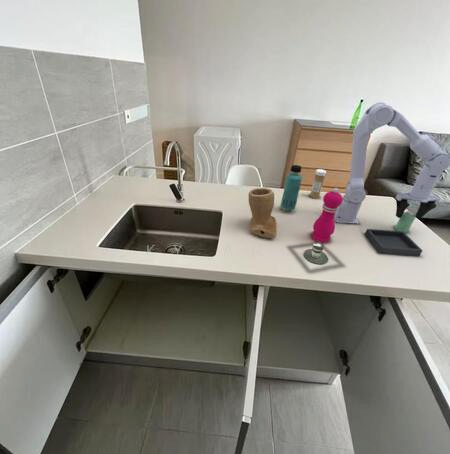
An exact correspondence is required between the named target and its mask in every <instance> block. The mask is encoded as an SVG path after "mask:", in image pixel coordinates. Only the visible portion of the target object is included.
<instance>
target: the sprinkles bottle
mask: <svg viewBox="0 0 450 454" xmlns="http://www.w3.org/2000/svg"><path fill="white" fill-rule="evenodd" d="M326 175H327V170H325V169H322V168H319V169H315V175H314V179H313V182H312V186H311V191H310V194H309V197H310V198H312V199H319V198H320V195H321V192H322V190H323V189H322V188H323V184H324V180H325V177H326Z"/></svg>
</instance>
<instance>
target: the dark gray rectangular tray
mask: <svg viewBox="0 0 450 454" xmlns="http://www.w3.org/2000/svg"><path fill="white" fill-rule="evenodd" d="M364 235H365V236H366V238H367V239H368V241H369V242H370V243H371V244H372V246H373V247H374V248H375V250H376V251H377V253H379V254H385V255H397V256H410V257H411V256H412V257H420V256H421V254H422V253H423V249H422V248H421V247H420V246H419V245H418V244H417V243H416V242H415V241H414V240H413V239H411V237H410V236H408V234H407V233H404V232H403V231H397V230H388V229H378V228H377V229H375V228H366V230H365V233H364Z"/></svg>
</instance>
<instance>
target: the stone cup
mask: <svg viewBox="0 0 450 454" xmlns="http://www.w3.org/2000/svg"><path fill="white" fill-rule="evenodd" d="M248 205H249V208H250V212H251V218H250V222H249V223H250V225H249V231H250V232H251V233H252V234H254V235H256V236H258V237H261V238H267V239H273V238H276V237H277V232H278V231H277V220H276V219H277V218H276V217H275V216H272V213H273V210H274V205H275V193H274V191H273V190H272V189H271V188H268V187H256V188H253V189H250V190H249V192H248Z"/></svg>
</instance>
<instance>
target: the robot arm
mask: <svg viewBox="0 0 450 454" xmlns="http://www.w3.org/2000/svg"><path fill="white" fill-rule="evenodd" d="M386 125H387V126H388V127H393V128H396V129H397V130H398V131H399V132H400V133H401V134H402V135H403V136H405V138H407V140H408V141H410V144H409V148H410V150H412V151H413V152H414V153H415V154H416V156H418V157H419V158H420V159H421V161H423V166H422V168H421V170H420V172H419V174H418V175H417V178H416V180H415V182H414V184H413V186H412V188H411V190H410V192H405V193H404V192H403V193H397V194H396V195H395V204H396V211H395V216H396V217H397V219H400V218H401V216H402V215H403V213H404V212H406V211H407V209H408V207H409V206H410V205H411V204H410V203H409V202H410V201H411V202H420V203H419V205H418V206H419V207H418V209H417V212H416V213H415V216H416V217H415V219H417V220H421V219H422V218H424V216H425V215H426V214H428V213H429V212H431V210H433V209H435V208H436V207H437V205H438V203H439V202H440V200H441V197H439V196H437V195H431V194H432V192H433V190H434V188H435V186H436V185H437V183H438V182H439V180H440V178H441V175H442V174H443V172H444V171H446V170H448V168H449V167H450V155H449V154H448V153H446V152H444V150H445V148H444V147H443V146H439V145H438V143H437V142H436V141H435V139H436V138H435V137H434V136H433V135H429V134H420V132H419V131H418V130H417V129H416V128H415V127H414V125H412V123H411V122H410V121H409V120H408V119H407V118H406V116H404V115H403V114H402V113H401V112H399V111H397V110H396V109H394V108H393V107H392V106H391V105H389V104H386V103H385V102H377V103H374V104H372V105H371V106H370V107H369V108H367V109H366V110H365V112H364V113H363V115H362V117H361V118H360V119H359V121H358V122H357V124H356V125H355V126H354V128H353V132H352V145H351V159H350V170H349V171H350V172H349V177H348V182H347V184H346V186H345V191H346V193H344V195H342V198H343V201H342V204H341V205H340V206H338V211H337V212H335V215H334V223H343V224H354V225H355V224H357V225H359V224H360V222H359V220H358V219H357V216H358V214H359V211H360V209H361V206H362V204H363V202H364V200H365V199H366V196H367V194H366V191H365V170H366V161H367V160H366V159H367V149H368V140H369V135H371V134H372V133H373V132H374V131H376V130H377V129H379V128H381V127H384V126H386ZM408 201H409V202H408Z"/></svg>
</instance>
